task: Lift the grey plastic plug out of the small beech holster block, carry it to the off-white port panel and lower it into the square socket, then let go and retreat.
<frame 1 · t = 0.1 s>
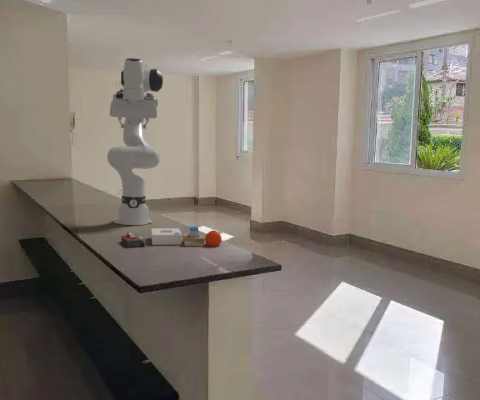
hand: (133, 128, 216), 48 cm above the worktop, tool pointing down, fingers open, 8 cm apart
plug: (193, 243, 206), point 1 cm above the worktop, touching holster
clementine: (213, 247, 205), on the worktop
holster: (193, 245, 206), on the worktop
port: (166, 243, 209), on the worktop
walkie-talkie: (132, 243, 209), on the worktop
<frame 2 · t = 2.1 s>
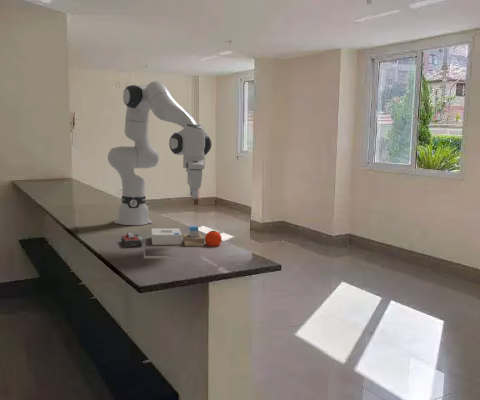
hand: (193, 197, 204), 20 cm above the worktop, tool pointing down, fingers open, 8 cm apart
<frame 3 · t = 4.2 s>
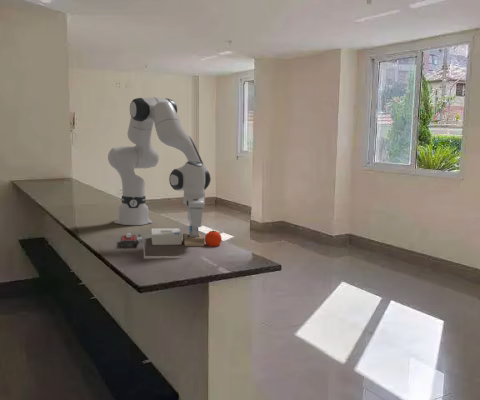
hand: (193, 233, 206), 5 cm above the worktop, tool pointing down, fingers closed on plug, 3 cm apart
plug: (193, 243, 206), point 1 cm above the worktop, touching gripper, holster
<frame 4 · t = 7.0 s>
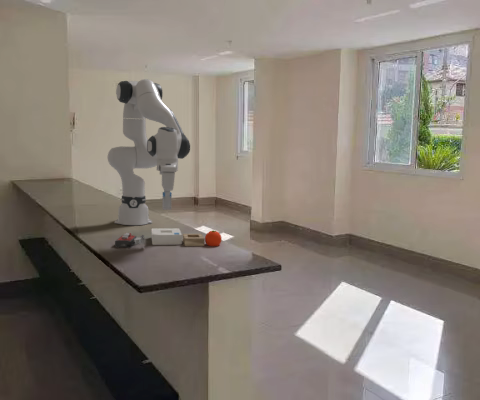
hand: (166, 199, 206), 19 cm above the worktop, tool pointing down, fingers closed on plug, 3 cm apart
plug: (166, 208, 207), point 15 cm above the worktop, touching gripper
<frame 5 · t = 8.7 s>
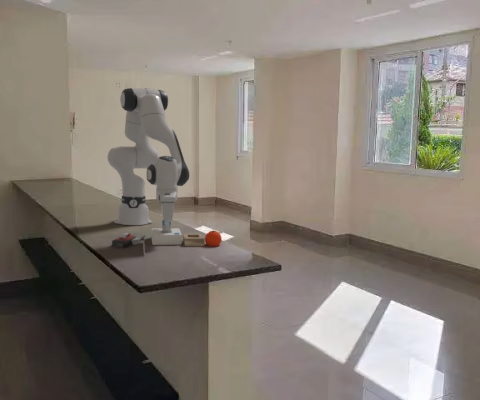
hand: (166, 227, 208), 7 cm above the worktop, tool pointing down, fingers closed on plug, 3 cm apart
plug: (166, 237, 209), point 3 cm above the worktop, touching gripper
when the fingers open (6 cm above the worktop, at t = 9.9 s): plug stays where it is, resting on port.
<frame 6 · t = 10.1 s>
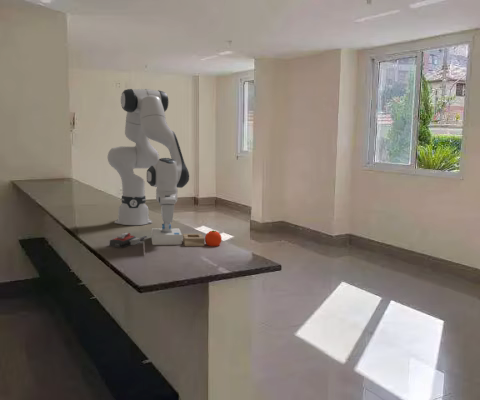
hand: (166, 229, 208), 6 cm above the worktop, tool pointing down, fingers open, 6 cm apart
plug: (166, 240, 209), point 1 cm above the worktop, touching port
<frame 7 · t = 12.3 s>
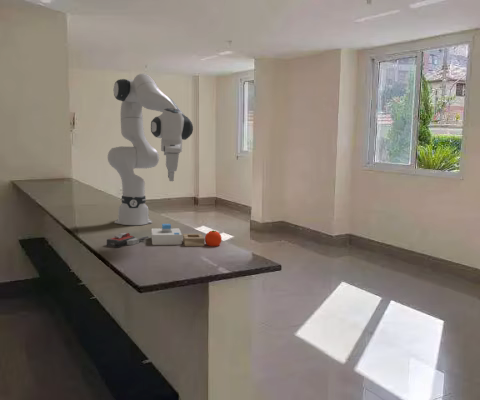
hand: (170, 179, 211), 27 cm above the worktop, tool pointing down, fingers open, 8 cm apart
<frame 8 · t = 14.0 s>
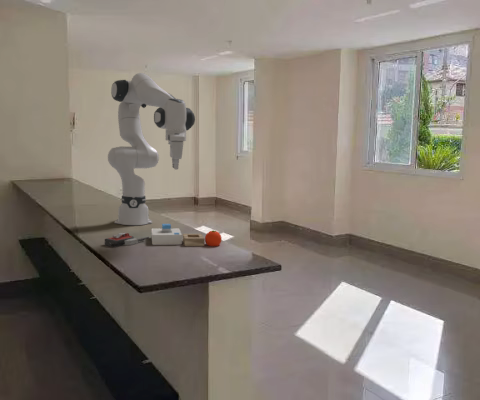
hand: (175, 168, 214), 31 cm above the worktop, tool pointing down, fingers open, 8 cm apart
at the end: plug 0.1 cm off-centre on the port, point 1.0 cm above the port's base; the gripper is holding nothing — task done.
